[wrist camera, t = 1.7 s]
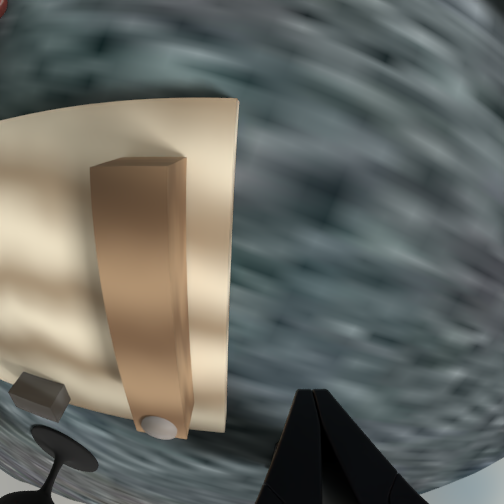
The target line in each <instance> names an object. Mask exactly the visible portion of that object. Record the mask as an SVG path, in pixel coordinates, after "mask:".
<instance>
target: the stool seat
mask: <svg viewBox="0 0 504 504" xmlns="http://www.w3.org/2000/svg"><path fill="white" fill-rule="evenodd" d="M238 110H239V101H238V100H237V98H159V99H140V100H126V101H115V102H105V103H96V104H88V105H80V106H73V107H66V108H60V109H54V110H48V111H43V112H37V113H32V114H27V115H22V116H18V117H13V118H9V119H5V120H1V121H0V379H1V380H3V381H6V382H8V383H11V384H13V386H12V388H11V389H10V390H9V392H8V393H9V394H10V396H11V398H12V400H13V402H14V403H15V405H16V407H18V408H20V409H23V410H25V411H28V412H30V413H33V414H35V415H38V416H40V417H43V418H46V419H49V420H51V421H54V422H57V423H58V422H59V420H60V418H61V417H62V415H63V413H64V411H65V409H66V407H67V406H68V404H71V405H75V406H78V407H82V408H86V409H89V410H93V411H97V412H101V413H105V414H109V415H114V416H118V417H122V418H127V419H132V420H133V417H132V414H131V410H130V407H129V404H128V401H127V397H126V394H125V390H124V387H123V383H122V380H121V376H120V372H119V368H118V364H117V360H116V356H115V352H114V348H113V344H112V339H111V335H110V330H109V325H108V320H107V315H106V310H105V305H104V299H103V294H102V288H101V282H100V275H99V268H98V261H97V254H96V245H95V237H94V227H93V216H92V204H91V188H90V167H92V166H95V165H98V164H101V163H105V162H108V161H111V160H115V159H118V158H121V157H187V172H186V261H187V295H188V319H189V337H190V354H191V368H192V381H193V393H194V406H193V411H192V416H191V421H190V426H189V429H193V430H202V431H211V432H222V433H225V424H226V414H227V363H228V326H229V295H230V268H231V243H232V221H233V200H234V180H235V161H236V143H237V126H238Z"/></svg>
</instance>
